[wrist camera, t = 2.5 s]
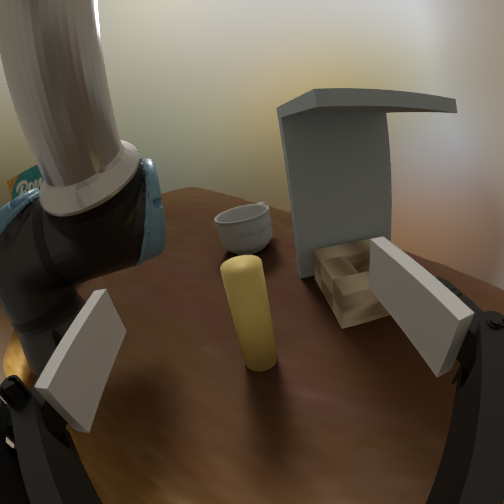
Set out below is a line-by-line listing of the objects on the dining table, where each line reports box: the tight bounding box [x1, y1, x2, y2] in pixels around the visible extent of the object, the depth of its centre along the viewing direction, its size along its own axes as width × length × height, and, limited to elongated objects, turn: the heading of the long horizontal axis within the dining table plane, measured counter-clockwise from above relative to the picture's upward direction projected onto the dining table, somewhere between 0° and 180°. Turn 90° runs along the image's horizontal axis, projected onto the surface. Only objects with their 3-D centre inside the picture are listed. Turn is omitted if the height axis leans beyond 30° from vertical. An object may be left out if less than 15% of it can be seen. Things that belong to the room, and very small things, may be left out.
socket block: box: [313, 236, 410, 329], centre depth 35 cm, size 12×12×5 cm
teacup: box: [214, 202, 273, 255], centre depth 55 cm, size 14×11×8 cm
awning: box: [277, 88, 457, 278], centre depth 31 cm, size 16×17×26 cm
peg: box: [220, 255, 277, 372], centre depth 26 cm, size 4×4×12 cm
